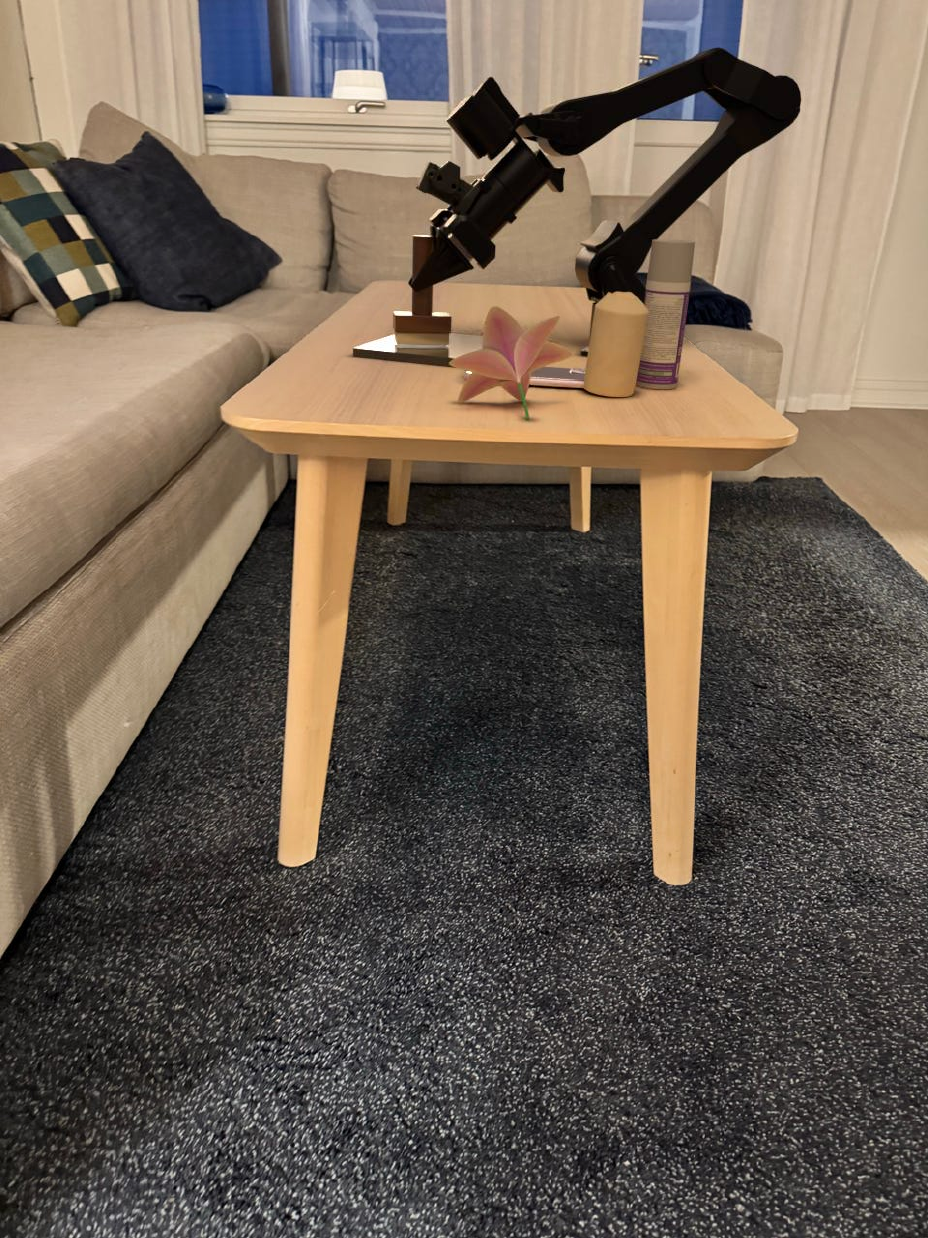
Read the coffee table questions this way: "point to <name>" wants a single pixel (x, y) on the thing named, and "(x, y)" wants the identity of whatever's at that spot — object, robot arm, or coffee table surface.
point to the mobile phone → (555, 377)
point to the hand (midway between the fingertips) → (411, 287)
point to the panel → (420, 350)
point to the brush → (422, 307)
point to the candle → (615, 345)
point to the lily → (508, 356)
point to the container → (665, 312)
